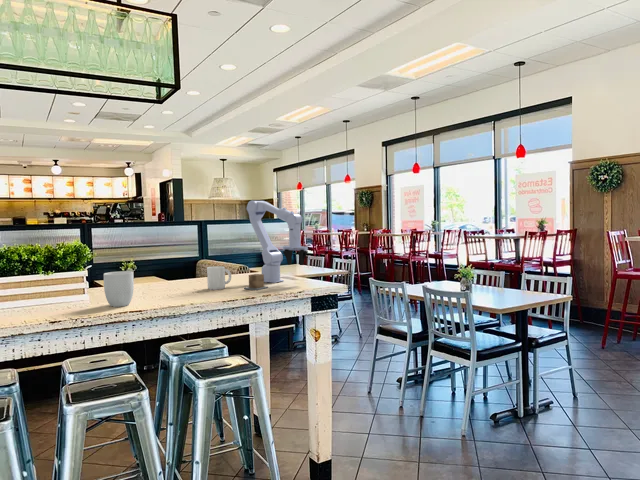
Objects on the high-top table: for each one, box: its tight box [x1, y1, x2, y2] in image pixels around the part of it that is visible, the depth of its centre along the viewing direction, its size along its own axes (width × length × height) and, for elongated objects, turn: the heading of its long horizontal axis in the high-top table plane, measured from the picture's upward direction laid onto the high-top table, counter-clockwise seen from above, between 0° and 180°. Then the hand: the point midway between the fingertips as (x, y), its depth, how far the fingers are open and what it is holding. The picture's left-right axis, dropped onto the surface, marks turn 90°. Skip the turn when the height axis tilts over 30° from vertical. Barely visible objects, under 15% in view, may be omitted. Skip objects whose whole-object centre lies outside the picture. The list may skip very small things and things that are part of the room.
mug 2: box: [206, 265, 232, 291], centre depth 234 cm, size 12×8×10 cm
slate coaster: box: [244, 285, 269, 291], centre depth 230 cm, size 8×8×1 cm
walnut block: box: [248, 273, 265, 288], centre depth 230 cm, size 5×5×6 cm
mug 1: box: [103, 270, 135, 308], centre depth 194 cm, size 15×11×13 cm
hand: (295, 264), depth 244 cm, fingers open, 7 cm apart
